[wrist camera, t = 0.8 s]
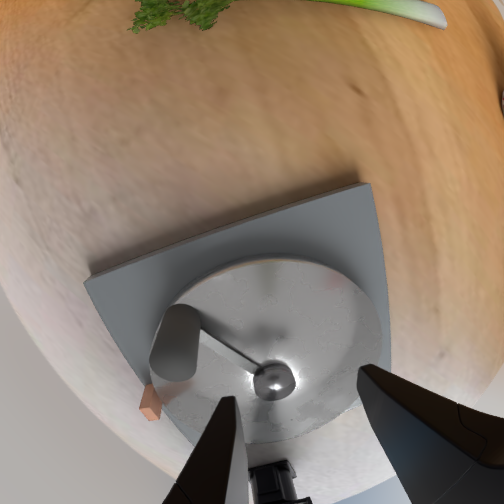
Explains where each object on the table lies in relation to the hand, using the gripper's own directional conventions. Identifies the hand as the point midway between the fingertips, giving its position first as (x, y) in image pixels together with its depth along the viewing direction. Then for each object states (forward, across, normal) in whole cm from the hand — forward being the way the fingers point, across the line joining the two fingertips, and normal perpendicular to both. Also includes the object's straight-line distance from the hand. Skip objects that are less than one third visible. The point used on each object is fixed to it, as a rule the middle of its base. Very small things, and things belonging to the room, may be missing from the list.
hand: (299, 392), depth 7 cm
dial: (+11, 0, +8) cm, 14 cm away
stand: (+13, 0, +8) cm, 15 cm away
